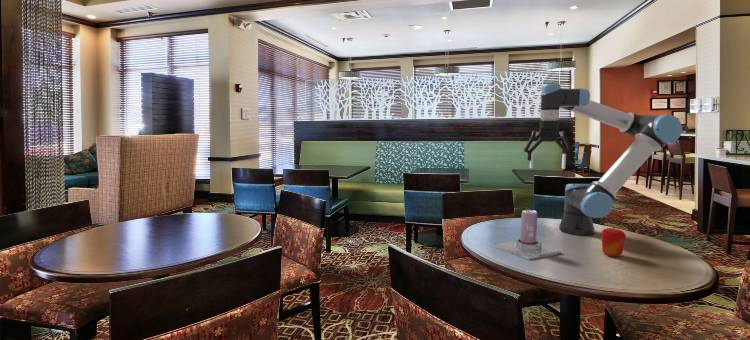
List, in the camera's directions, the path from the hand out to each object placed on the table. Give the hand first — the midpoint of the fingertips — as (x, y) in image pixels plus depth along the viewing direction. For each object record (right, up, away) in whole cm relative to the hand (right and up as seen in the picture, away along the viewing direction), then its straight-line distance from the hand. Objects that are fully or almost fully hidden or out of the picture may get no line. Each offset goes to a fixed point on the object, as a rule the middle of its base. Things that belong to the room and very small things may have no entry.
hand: (547, 168), depth 182 cm
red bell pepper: (+17, -34, -20) cm, 43 cm away
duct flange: (-14, -33, -14) cm, 39 cm away
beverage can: (-14, -32, -14) cm, 38 cm away
